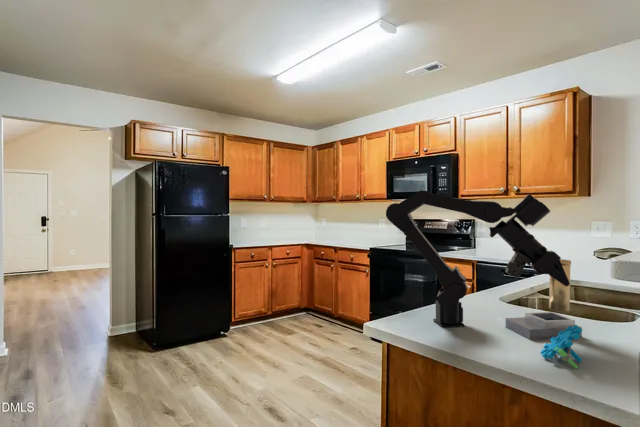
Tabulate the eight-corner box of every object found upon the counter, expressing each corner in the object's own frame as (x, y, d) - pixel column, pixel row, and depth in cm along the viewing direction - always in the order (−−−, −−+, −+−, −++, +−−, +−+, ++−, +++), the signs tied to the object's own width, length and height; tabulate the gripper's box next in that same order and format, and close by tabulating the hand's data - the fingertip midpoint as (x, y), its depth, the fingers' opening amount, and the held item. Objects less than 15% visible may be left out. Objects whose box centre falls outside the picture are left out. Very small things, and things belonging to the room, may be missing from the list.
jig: (529, 339, 93) (529, 323, 93) (505, 327, 103) (505, 312, 103) (581, 337, 95) (581, 321, 95) (553, 325, 105) (553, 310, 105)
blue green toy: (540, 340, 88) (577, 316, 83) (561, 361, 86) (600, 338, 81) (535, 362, 79) (575, 337, 74) (558, 386, 77) (602, 362, 72)
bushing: (559, 311, 94) (560, 261, 94) (544, 306, 99) (545, 259, 98) (574, 310, 95) (575, 261, 95) (558, 305, 100) (559, 258, 100)
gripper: (492, 254, 111) (533, 296, 107) (497, 262, 94) (547, 312, 90) (522, 229, 108) (566, 270, 104) (534, 232, 91) (587, 282, 87)
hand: (565, 283), depth 96 cm, fingers closed on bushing, 4 cm apart
